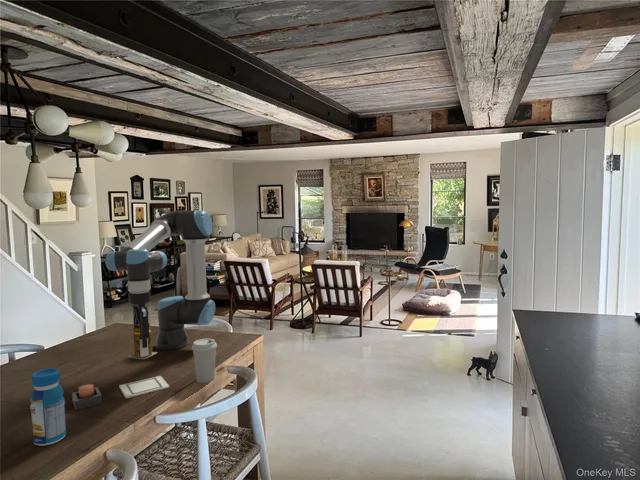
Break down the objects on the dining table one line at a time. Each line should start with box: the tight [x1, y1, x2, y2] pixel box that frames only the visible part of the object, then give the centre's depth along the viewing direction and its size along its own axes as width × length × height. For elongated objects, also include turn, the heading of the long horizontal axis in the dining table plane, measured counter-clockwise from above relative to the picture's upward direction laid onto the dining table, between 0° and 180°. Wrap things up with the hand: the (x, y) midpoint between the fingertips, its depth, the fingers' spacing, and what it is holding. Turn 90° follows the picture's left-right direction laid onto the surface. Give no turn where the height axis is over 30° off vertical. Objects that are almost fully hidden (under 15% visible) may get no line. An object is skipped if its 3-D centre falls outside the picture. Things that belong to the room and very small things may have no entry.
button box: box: [71, 386, 103, 411], centre depth 149 cm, size 8×8×3 cm
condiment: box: [126, 323, 158, 360], centre depth 160 cm, size 7×8×12 cm
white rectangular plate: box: [118, 375, 170, 399], centre depth 161 cm, size 15×12×1 cm
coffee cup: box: [191, 338, 218, 384], centre depth 167 cm, size 10×10×15 cm
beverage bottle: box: [29, 367, 67, 447], centre depth 125 cm, size 8×8×20 cm
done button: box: [78, 383, 95, 398], centre depth 149 cm, size 5×5×3 cm
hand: (142, 353), depth 160 cm, fingers closed on condiment, 6 cm apart
